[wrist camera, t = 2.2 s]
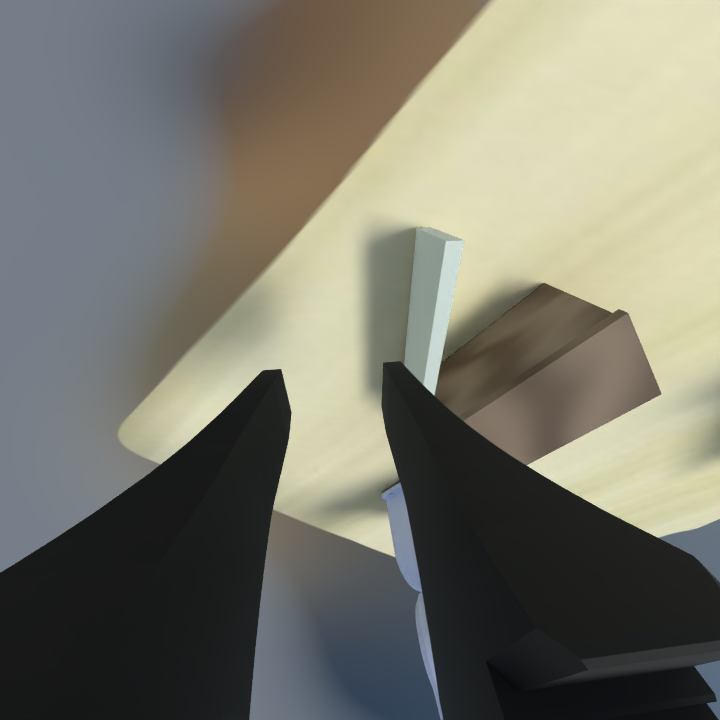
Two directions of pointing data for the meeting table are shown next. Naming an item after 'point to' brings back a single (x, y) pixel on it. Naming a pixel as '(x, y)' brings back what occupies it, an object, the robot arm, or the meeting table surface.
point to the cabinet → (547, 374)
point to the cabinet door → (431, 302)
